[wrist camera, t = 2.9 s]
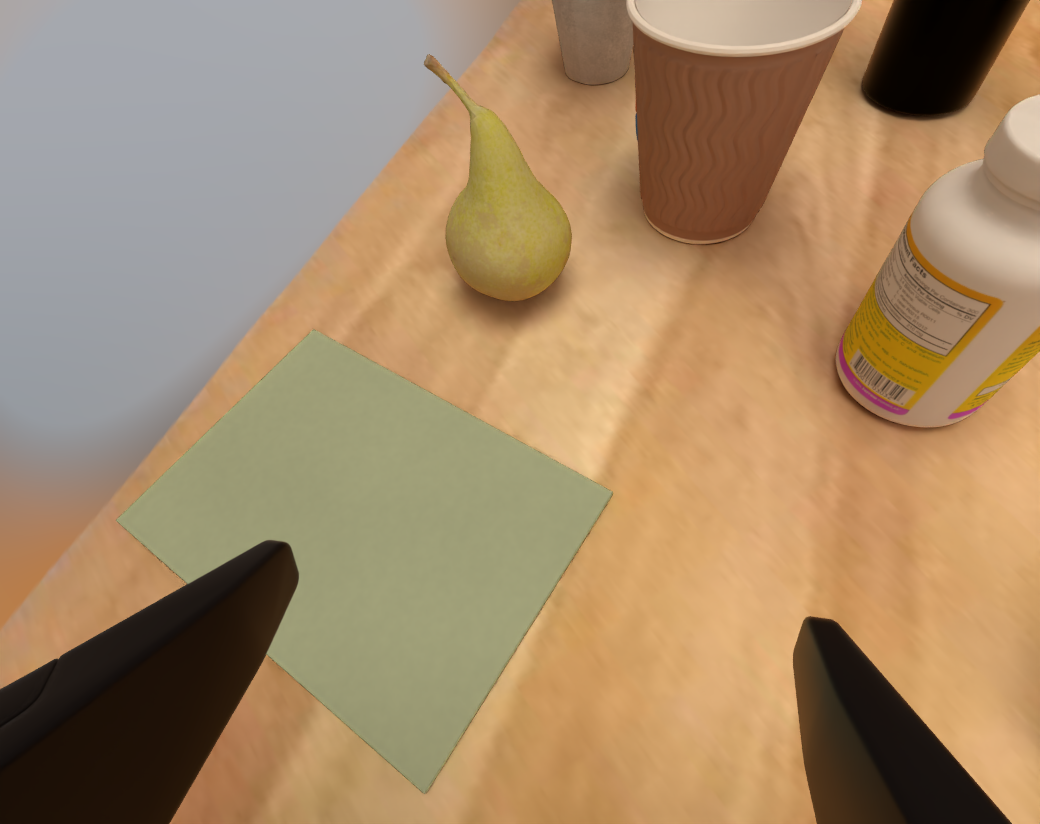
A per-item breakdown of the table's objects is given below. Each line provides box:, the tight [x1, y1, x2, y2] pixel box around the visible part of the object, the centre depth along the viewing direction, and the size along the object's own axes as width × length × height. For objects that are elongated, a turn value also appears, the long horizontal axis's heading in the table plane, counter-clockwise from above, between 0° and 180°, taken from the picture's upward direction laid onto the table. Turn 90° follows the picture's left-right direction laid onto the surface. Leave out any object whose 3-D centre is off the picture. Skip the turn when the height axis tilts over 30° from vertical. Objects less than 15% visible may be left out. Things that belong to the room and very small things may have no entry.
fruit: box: [424, 54, 572, 301], centre depth 29 cm, size 7×8×12 cm
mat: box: [116, 329, 613, 794], centre depth 27 cm, size 20×14×1 cm
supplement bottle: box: [836, 95, 1040, 427], centre depth 23 cm, size 7×7×13 cm
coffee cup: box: [626, 0, 862, 244], centre depth 31 cm, size 10×10×12 cm
